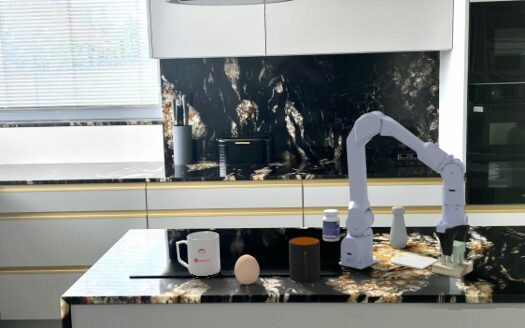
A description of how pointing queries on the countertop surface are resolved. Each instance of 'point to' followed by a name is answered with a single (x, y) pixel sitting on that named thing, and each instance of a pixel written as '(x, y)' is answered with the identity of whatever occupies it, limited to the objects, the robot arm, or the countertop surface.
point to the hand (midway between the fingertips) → (452, 252)
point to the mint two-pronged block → (454, 254)
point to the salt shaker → (398, 228)
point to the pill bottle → (331, 225)
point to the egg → (246, 269)
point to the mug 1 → (202, 253)
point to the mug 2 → (304, 259)
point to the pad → (414, 261)
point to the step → (452, 268)
